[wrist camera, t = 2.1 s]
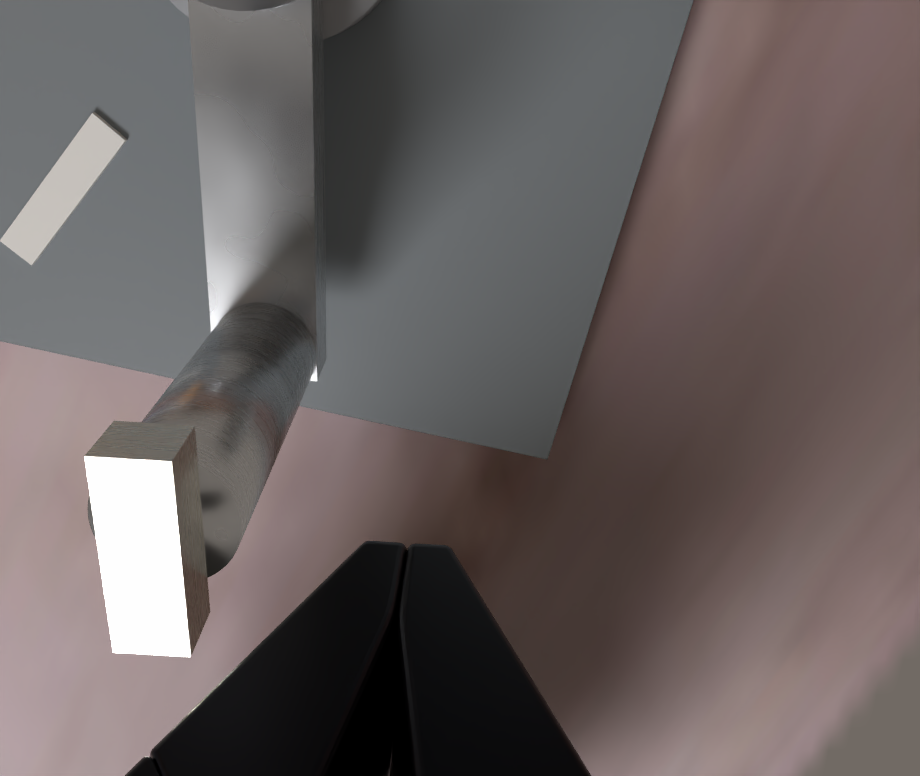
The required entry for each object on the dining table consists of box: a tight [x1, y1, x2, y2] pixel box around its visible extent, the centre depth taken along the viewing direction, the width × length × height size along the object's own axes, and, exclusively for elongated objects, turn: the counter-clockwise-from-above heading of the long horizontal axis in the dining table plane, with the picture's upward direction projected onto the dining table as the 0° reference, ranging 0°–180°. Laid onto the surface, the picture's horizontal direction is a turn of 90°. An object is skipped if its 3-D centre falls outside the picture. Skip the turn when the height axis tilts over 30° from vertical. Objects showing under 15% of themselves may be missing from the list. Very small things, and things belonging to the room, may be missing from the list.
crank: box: [84, 0, 326, 657], centre depth 11 cm, size 10×3×7 cm, turn 177°
